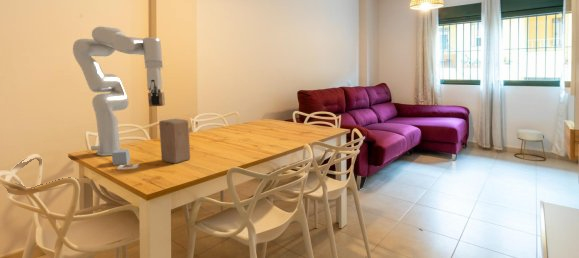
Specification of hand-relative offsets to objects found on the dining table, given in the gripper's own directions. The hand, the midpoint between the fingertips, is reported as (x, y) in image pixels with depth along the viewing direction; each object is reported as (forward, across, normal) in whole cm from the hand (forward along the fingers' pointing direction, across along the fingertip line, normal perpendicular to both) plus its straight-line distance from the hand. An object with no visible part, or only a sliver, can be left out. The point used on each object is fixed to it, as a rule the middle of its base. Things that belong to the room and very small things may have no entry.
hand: (157, 103), depth 152 cm
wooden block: (+28, 0, +7) cm, 29 cm away
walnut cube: (+1, 0, 0) cm, 1 cm away
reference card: (+28, +8, -13) cm, 32 cm away
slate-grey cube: (+28, -1, -18) cm, 33 cm away
